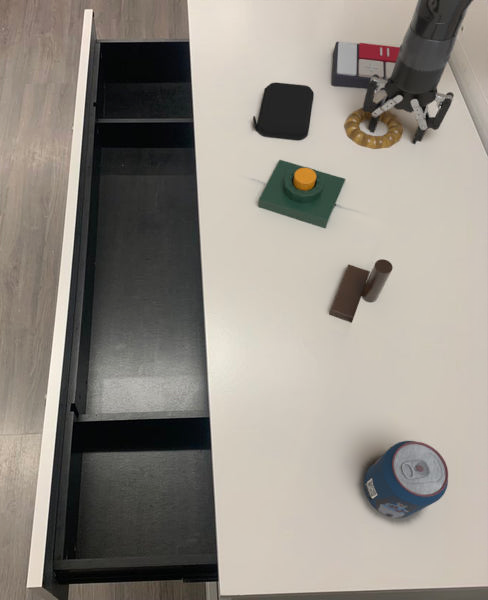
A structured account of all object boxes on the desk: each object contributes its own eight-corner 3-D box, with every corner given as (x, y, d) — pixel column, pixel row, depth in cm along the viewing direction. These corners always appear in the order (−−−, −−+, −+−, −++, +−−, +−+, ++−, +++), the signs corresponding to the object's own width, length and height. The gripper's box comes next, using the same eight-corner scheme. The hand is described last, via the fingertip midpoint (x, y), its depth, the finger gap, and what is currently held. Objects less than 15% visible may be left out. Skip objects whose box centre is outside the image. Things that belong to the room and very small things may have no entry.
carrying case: (260, 89, 107) (249, 140, 100) (261, 76, 104) (249, 127, 97) (313, 95, 106) (306, 147, 98) (315, 82, 103) (308, 134, 96)
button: (317, 178, 89) (319, 171, 88) (310, 193, 88) (312, 186, 86) (297, 172, 90) (298, 165, 89) (290, 187, 89) (291, 179, 87)
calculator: (414, 81, 101) (335, 71, 102) (406, 99, 105) (329, 90, 106) (412, 45, 106) (336, 37, 108) (404, 64, 110) (331, 56, 111)
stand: (403, 288, 82) (424, 252, 74) (388, 336, 78) (408, 303, 70) (346, 269, 84) (360, 232, 76) (329, 314, 80) (342, 280, 72)
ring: (406, 123, 100) (410, 112, 98) (392, 160, 96) (396, 149, 93) (352, 109, 103) (355, 98, 101) (336, 144, 98) (339, 133, 96)
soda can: (405, 459, 69) (439, 431, 58) (425, 515, 65) (465, 496, 55) (353, 467, 68) (377, 441, 58) (371, 524, 65) (400, 507, 55)
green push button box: (342, 187, 93) (347, 171, 89) (325, 228, 88) (329, 213, 85) (278, 168, 96) (280, 151, 92) (258, 207, 91) (259, 191, 88)
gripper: (475, 51, 83) (437, 133, 98) (384, 31, 87) (360, 113, 101) (466, 79, 80) (428, 160, 94) (372, 57, 84) (349, 138, 98)
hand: (393, 135), depth 98 cm, fingers open, 7 cm apart
